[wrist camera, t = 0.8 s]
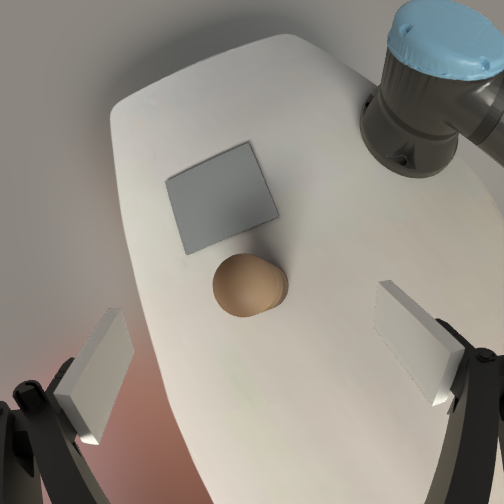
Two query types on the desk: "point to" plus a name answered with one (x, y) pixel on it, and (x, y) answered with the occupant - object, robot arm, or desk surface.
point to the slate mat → (220, 199)
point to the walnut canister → (248, 285)
